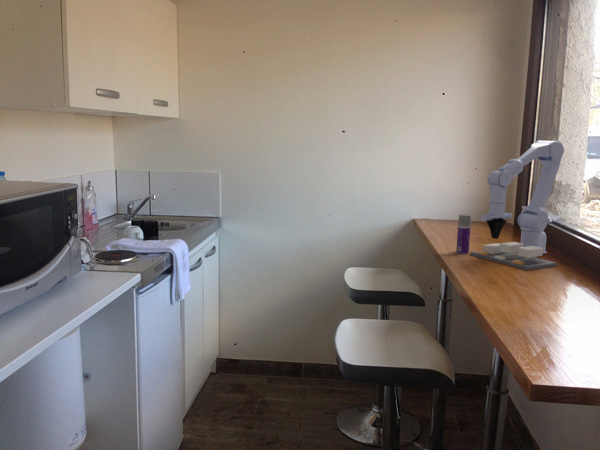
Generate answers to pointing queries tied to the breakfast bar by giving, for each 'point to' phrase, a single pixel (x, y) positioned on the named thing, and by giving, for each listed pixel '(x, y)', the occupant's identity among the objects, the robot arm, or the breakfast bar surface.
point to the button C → (530, 251)
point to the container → (463, 234)
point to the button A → (492, 248)
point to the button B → (510, 247)
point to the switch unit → (515, 260)
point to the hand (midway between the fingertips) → (494, 238)
